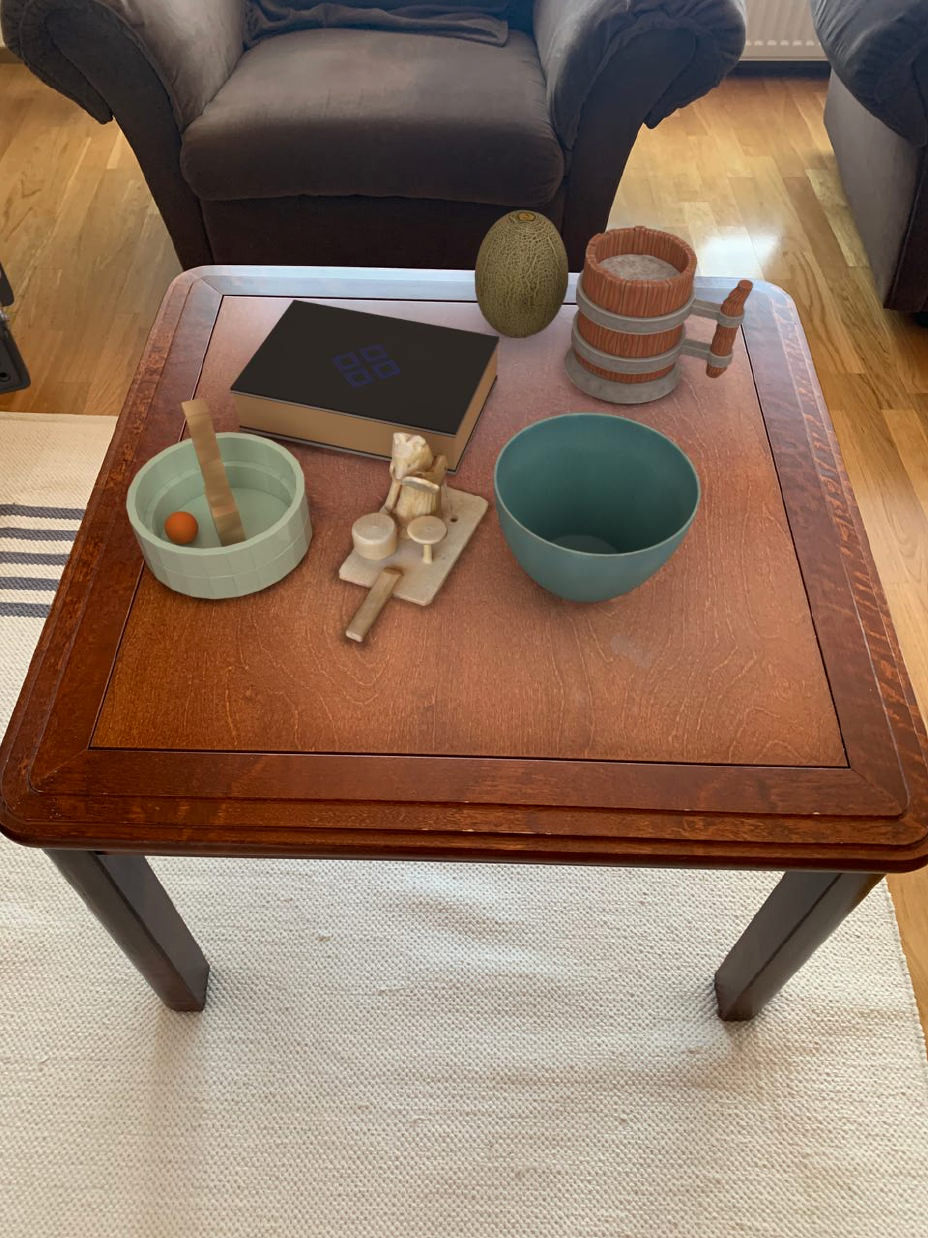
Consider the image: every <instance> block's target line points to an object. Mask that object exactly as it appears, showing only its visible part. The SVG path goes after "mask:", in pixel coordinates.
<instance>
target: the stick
mask: <svg viewBox="0 0 928 1238" xmlns="http://www.w3.org/2000/svg"><path fill="white" fill-rule="evenodd" d="M180 404H181V408H182V410H183V414H184V417H185V421H186V424H187V428H188V431H189V435H190V438H191V439H192V442H193V445H194V449H195V452H196V456H197V459H198V463H199V466H200V469H201V473H202V476H203V480H204V483H205V486H204V487H203V489H204V492H205V496H206V499H207V502H208V506H209V509H210V513H211V516H212V519H213V523H214V526H215V529H216V532H217V534H218V537H219V540H220V543H221V546H222V547H226V546H229V545H233V544H236V543H240V542H244V541H246V538H245V534H244V530H243V526H242V522H241V519H240V515H239V511H238V508H237V505H236V503H235V500H234V497H233V495H232V492H231V489H230V486H229V484H228V481H227V477H226V474H225V470H224V466H223V462H222V458H221V455H220V451H219V447H218V443H217V439H216V436H215V433H216V432H215V428H214V425H213V421H212V417H211V413H210V410H209V408H208V405H207V402H206V400H205V397H198V398H195V399H191V400H190V399H189V400H187V401H182V402H180Z"/></svg>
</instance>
